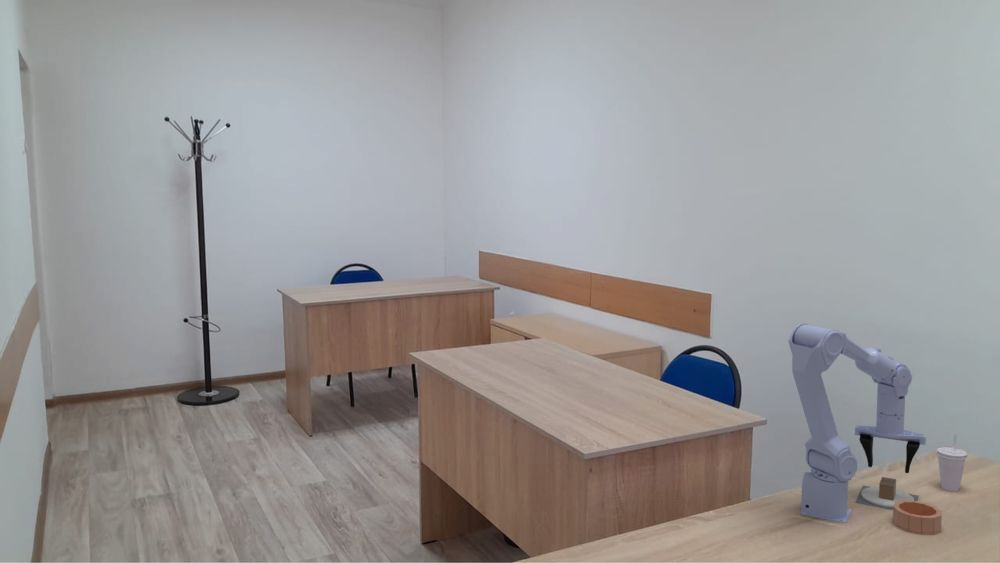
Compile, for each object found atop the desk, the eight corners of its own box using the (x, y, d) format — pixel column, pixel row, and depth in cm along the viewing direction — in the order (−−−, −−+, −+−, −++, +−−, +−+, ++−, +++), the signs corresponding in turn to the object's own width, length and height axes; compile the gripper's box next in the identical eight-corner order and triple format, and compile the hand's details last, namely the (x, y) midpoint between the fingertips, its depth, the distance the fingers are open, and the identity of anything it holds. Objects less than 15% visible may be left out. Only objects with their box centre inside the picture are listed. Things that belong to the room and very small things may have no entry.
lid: (858, 502, 170) (858, 484, 170) (864, 486, 179) (865, 469, 179) (911, 512, 164) (912, 494, 164) (916, 495, 173) (916, 478, 173)
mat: (855, 504, 170) (855, 502, 170) (862, 487, 180) (863, 485, 180) (913, 515, 164) (914, 513, 163) (918, 497, 173) (918, 495, 173)
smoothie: (964, 497, 173) (967, 440, 171) (933, 491, 177) (935, 435, 175) (966, 488, 178) (969, 432, 177) (936, 482, 182) (938, 428, 180)
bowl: (890, 529, 157) (891, 511, 156) (895, 514, 164) (896, 497, 164) (939, 539, 152) (940, 521, 151) (942, 523, 159) (942, 505, 159)
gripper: (927, 412, 169) (925, 469, 170) (858, 404, 177) (857, 458, 178) (925, 420, 163) (923, 478, 164) (854, 411, 171) (852, 467, 173)
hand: (888, 468), depth 171 cm, fingers open, 7 cm apart
